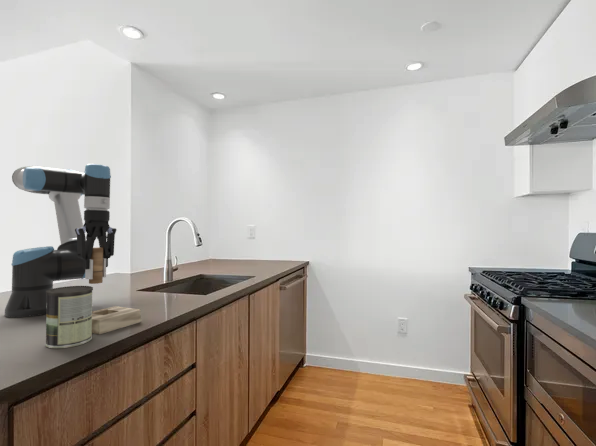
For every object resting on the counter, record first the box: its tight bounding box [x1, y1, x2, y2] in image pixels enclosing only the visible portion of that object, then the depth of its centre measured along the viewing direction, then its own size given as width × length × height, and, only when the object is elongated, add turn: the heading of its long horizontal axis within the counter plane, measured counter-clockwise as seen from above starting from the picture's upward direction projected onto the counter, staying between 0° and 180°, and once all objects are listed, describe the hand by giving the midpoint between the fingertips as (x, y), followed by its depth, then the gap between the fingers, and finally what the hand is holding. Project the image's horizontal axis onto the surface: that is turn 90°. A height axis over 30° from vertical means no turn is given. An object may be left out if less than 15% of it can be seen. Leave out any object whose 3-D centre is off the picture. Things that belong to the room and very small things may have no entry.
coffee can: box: [45, 285, 94, 350], centre depth 89 cm, size 10×10×14 cm
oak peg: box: [88, 246, 104, 285], centre depth 114 cm, size 4×4×12 cm
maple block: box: [92, 305, 142, 335], centre depth 103 cm, size 12×14×4 cm
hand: (95, 277), depth 114 cm, fingers closed on oak peg, 4 cm apart
